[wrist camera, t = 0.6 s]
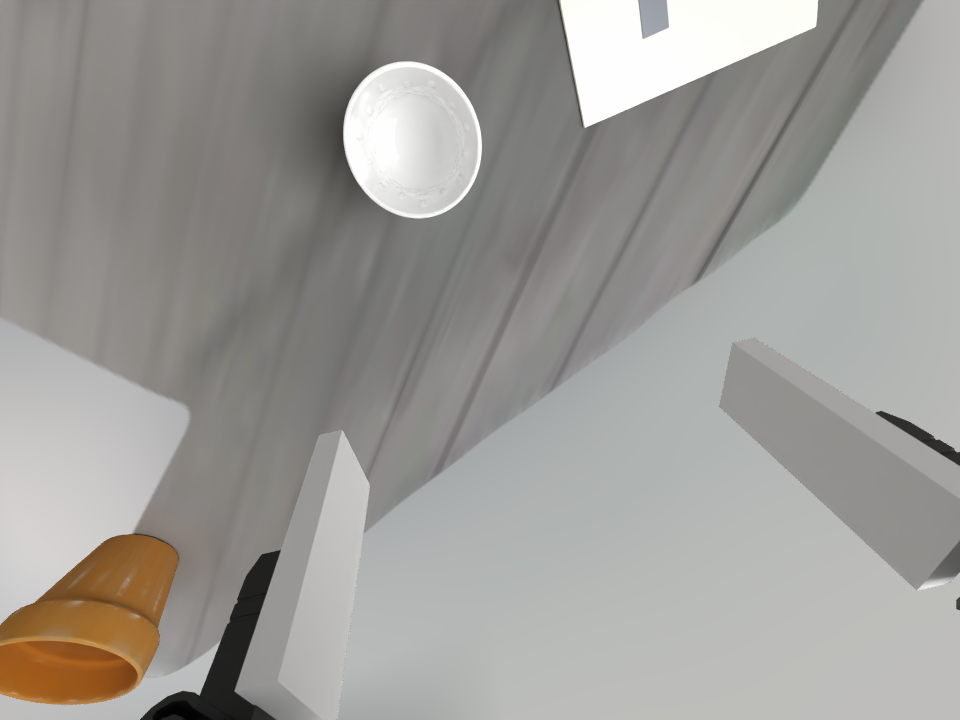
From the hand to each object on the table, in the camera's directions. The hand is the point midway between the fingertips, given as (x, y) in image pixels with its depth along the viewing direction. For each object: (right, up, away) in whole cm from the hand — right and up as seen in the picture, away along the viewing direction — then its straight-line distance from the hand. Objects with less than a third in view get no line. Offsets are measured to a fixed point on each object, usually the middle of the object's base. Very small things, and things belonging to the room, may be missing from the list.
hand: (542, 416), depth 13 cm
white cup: (-7, +19, +18) cm, 27 cm away
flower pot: (-46, -23, +37) cm, 64 cm away
